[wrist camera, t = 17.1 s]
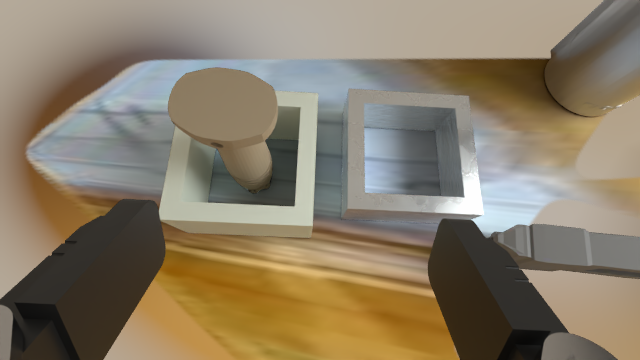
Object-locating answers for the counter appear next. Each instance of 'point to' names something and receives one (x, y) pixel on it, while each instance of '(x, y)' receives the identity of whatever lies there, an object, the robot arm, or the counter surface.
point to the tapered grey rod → (571, 250)
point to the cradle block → (242, 219)
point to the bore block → (452, 150)
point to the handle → (229, 119)
